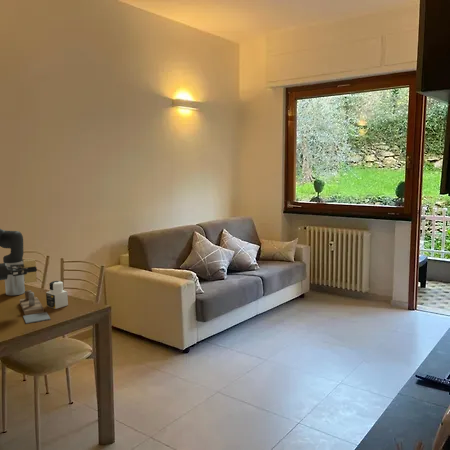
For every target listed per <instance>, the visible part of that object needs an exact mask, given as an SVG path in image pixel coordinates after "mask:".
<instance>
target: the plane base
mask: <svg viewBox="0 0 450 450" xmlns="http://www.w3.org/2000/svg"><path fill="white" fill-rule="evenodd" d="M24 296H25V297H24V298H20V299H19V305H20V306H21V309H22V311H23V314H24V316H26V315H32V314H38V313H44V312H45V311H44V307H43V305H42V303H41V301H40V300H39V298H38V297H37V296H35V292H33V291H32V290H31V289H29V290H25V293H24Z"/></svg>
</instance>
